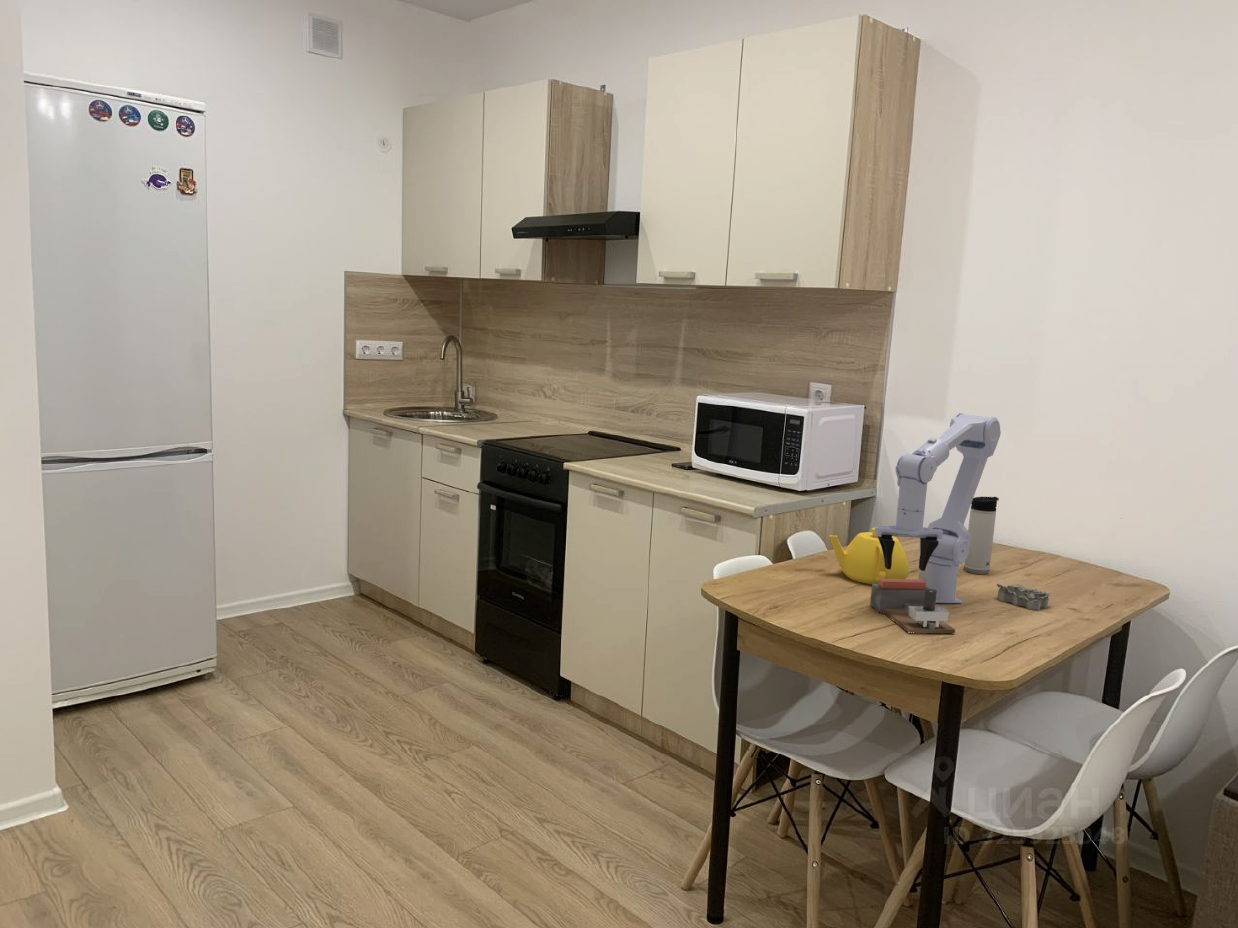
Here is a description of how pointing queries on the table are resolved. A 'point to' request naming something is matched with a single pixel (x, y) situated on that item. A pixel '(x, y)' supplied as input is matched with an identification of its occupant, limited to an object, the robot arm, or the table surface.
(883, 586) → the bar
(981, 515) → the travel mug
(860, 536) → the teapot
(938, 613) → the carriage
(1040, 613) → the table surface
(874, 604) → the rail stand
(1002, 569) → the table surface
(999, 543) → the table surface
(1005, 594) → the egg carton
